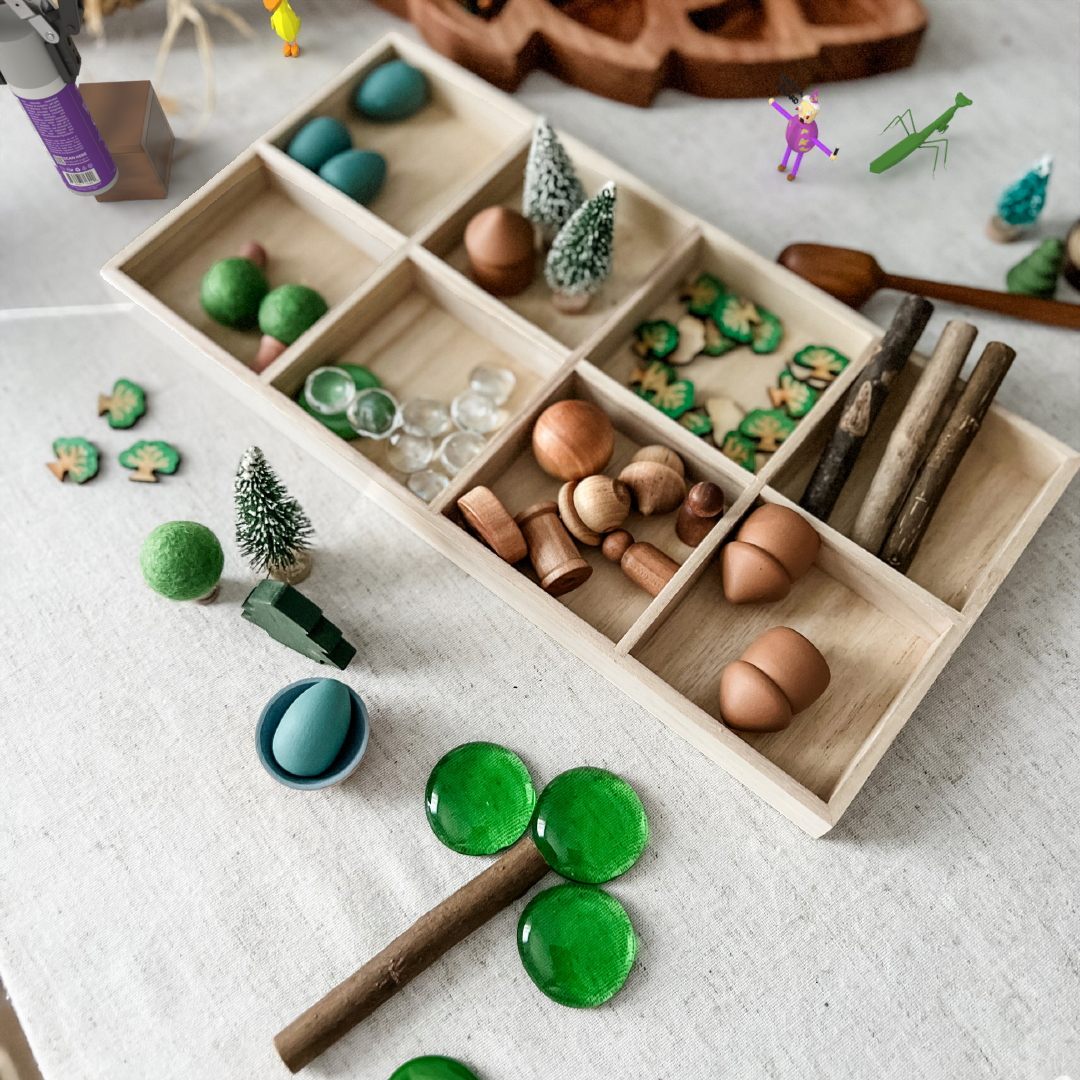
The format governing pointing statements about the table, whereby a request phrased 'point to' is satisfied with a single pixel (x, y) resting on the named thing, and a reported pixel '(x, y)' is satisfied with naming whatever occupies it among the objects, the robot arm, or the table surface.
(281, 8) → the toy figure
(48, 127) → the container
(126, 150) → the brown wooden cube
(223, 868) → the table surface
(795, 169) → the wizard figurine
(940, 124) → the praying mantis
